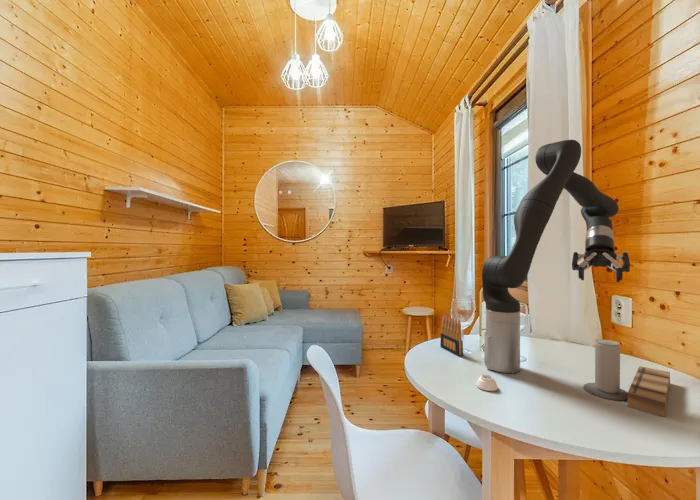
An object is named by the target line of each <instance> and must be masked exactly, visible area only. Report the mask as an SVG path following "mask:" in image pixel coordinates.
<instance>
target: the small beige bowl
mask: <svg viewBox="0 0 700 500" xmlns="http://www.w3.org/2000/svg"><path fill="white" fill-rule="evenodd" d="M475 383H476V384H475V386H476V387H477V388H479V389H480V390H482V391H485V392H486V391H487V392H494V391H497V390H498V389H499V386H498V384H497V382H496V380H495V379H494V376H492V375H490V374H485V373H484V374H480V376H479V378H478V379H477V381H476V382H475Z"/></svg>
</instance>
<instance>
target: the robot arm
mask: <svg viewBox="0 0 700 500" xmlns="http://www.w3.org/2000/svg"><path fill="white" fill-rule="evenodd" d="M581 156H582V145H581V144H580V142H579V141H577V139H564V140H559V141H556V142H550V143H547V144H544V145H542V146H540V147H539V148H538V149H537V151H536V153H535V157H534V158H535V164H536V166H537V168H538V169H539V170H540V172H541V173H542V174H544V175H545V177H544V178H543V179H542V180H540V181H539V182H538V183H537V184H536V185H535V186H534V187H533V188H531V189H530V190H528V192H527V193H526V194H525V195H524V196H523V197H522V198H521V201H520V203H519V205H518V206H517V208H516V211H515V212H514V213H515V214H514V217H513V225H514V231H515V241H514V243H513V247H512V248H511V250H510V252H509V254H508V255H492V256H489V257H487V258H486V259H485V261H484V263H483V265H482V269H481V282H482V286H481V287H482V298H483V300H484V303H485V332H484V346H483V347H484V348H483V349H484V353H483V354H484V355H483V356H484V357H483V358H484V360H483V361H484V365H485V367H486V369H487V370H492V371H495V372H497V373H498V372H499V373H504V374H516V373H519V372H520V371H521V302H520V301H519V300H518V299H516V298H515V297H514V296H513V295H512V294H511V293H510V291H509V289H517V288H519V287H521V286H522V285H523V283H524V282H525V281H526V279H527V277H528V274H529V272H530V269H531V265H532V263H533V259H534V257H535V253H536V250H537V247H538V245H539V242H540V240H541V238H542V236H543V234H544V231H545V229H546V227H547V225H548V223H549V221H550V219H551V216H552V214H553V213H554V210H555V207H556V206H557V202H558V200H559V198H560V196H561V194H562V192H563V191H564V190H565V191H566V192H568V193H569V194H570V195H571V196H572V197H573V199H574V200H575V201H576V203H577V204H578V205H579V206H580V207H581V209H580V214H581V217H582V218H583V220H584V221H585V226H586V234H585V240H584V241H585V242H584V245H585V248H584V250H585V251H584V253H582V254H581V253H580V254H579V252H577V251H575V252H573V254H572V262H571V270H573V271H577V272H578V279H580V281H585V271H586V270H588V269H590V268H591V267H593V268H596V267H598V268H599V267H601V268H607V267H608V268H609V269H610V270H613V271H614V272H615V280H616V283H620V282H621V281H622V280H623V278H624V277H623V273H629V272H630V271H631V270H630V269H631V263H630V258H629V253H628V252H627V251H625V252H623V253H622V254H620V253H619V254H617V253H616V252H615V236H614V232H613V221H612V220H611V219H610V218H612V217H615V216H616V215H617V214H618V213H619V210H620V209H619V204H618V202H617V201H616V200H615V199H613V197H610V196H609V195H608V194H606V193H603V192H602V191H600V190H599V189H598V187H597V186H596V185H595V183H594V182H593V181H592V180H590V179H589V178H587V177H586V176H583V175H581V174H579V173H577V172H575V170H576V168H577V166H578V164H579V163H580V159H581ZM582 259H583V261H582V262H581V263H579V262H580V261H581V260H582ZM617 260H619V261H620V262H621V263H622V264H623V265H621V264H620V263H619V262H618V261H617ZM578 263H579V264H578Z"/></svg>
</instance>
